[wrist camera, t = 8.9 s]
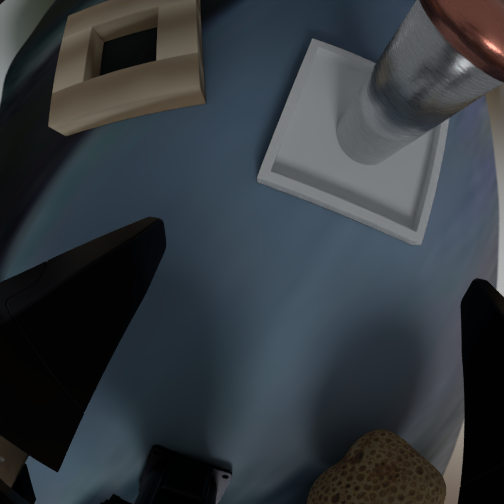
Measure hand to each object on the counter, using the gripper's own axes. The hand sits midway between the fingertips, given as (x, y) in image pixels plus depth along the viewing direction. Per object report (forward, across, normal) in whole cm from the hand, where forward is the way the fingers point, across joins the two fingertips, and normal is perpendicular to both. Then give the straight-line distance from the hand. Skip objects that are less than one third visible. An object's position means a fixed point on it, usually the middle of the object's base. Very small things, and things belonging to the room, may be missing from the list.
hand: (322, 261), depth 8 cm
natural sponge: (+2, -7, +20) cm, 21 cm away
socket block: (+15, +15, -5) cm, 22 cm away
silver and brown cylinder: (+14, -2, 0) cm, 14 cm away
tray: (+14, -2, 0) cm, 15 cm away
